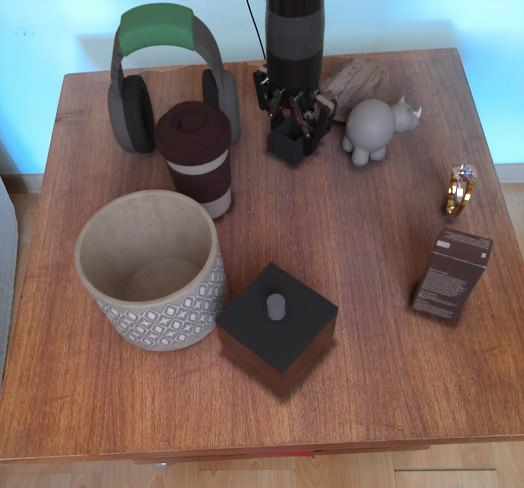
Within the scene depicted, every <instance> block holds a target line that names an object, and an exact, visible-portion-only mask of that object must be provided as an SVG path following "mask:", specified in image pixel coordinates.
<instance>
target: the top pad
mask: <svg viewBox="0 0 524 488" xmlns="http://www.w3.org/2000/svg"><path fill="white" fill-rule="evenodd" d="M309 126H310V127H311V126H312V125H311V122H309ZM303 137H304V133H303V130H302V127H301V125H298V123H297V119H296V116H295V114H294V113H292V114H291V115H290V114H289V115H288V116H287V117H285V120H284V121H283V122H282V123H281V124H279V125H278V126H277V127H276V128H275V129H274V130H272V131H271V130H270V131H269V133H268V134H267V135H266V148H267V151H268V152H269V153H271V154H273V155H274V156H276V157H278V158H280V159H281V160H283V161H285V162H286V163H288V164H290V165H291V166H293V167H295V166H297V165H298V164H299V163H300V162H301V161H302V160H303V159H304V158H306V156H304V155H303ZM292 138H293V139H294V140H293V139H292ZM320 141H321V140H320ZM320 141H318V142H317V146H318V145H320Z"/></svg>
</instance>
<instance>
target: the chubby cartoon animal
mask: <svg viewBox="0 0 524 488" xmlns="http://www.w3.org/2000/svg"><path fill="white" fill-rule="evenodd" d="M405 98H406V95H405V94H402V95H401V96H400V98H399V99H398V101H397V102H395V103H394V104H392V106H390V105H388V104H387V102H385V101H383V100H382V99H381V100H380V99H378V98H377V99H368V100H364V101H362V102H360V103H359V104H357V105H356V106H355V107H354V108H353V109H352V111H351V112H350V114H349V116H348V118H347V122H346V123H345V135H344V136H343V139H342V142H341V148H342V149H343V151H345V152H348V153H351V162H352V164H353V165H354V166H357V167H363V166H366V165H367V164H368V162H369V159H370V160H372V161H374V162H379V161H382V160H383V159H384V158H385V157H386V152H387V145H388V144H389V142H390V141H391V139H392V138H393V136H394V134H402V133H405V132H411V131H413V130H415V128H416V127H417V126H418V125H419V123H420V122H419V118H420V117H421V115H422V112H423V111H422V110H423V109H422V106H420V107H419V108H418V109H417V111H416V110H415V111H414V108H413V107H411V105H410V104H409V103H407V102H406V101H405Z"/></svg>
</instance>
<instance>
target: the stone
mask: <svg viewBox="0 0 524 488" xmlns="http://www.w3.org/2000/svg"><path fill="white" fill-rule="evenodd" d="M387 75H388V73H387V72H386V71H385V70H383V69H382V68H381V67H380V66H379V64H378V62H377V61H375V60H373V61H370V60H369V59H368V58H366V57H359V56H354V57H350V58H348V59H347V60H345V61H343V62H340V63H339V64H337V65H335V66H334V67H332V68H331V69H330V71H329V72H328V73H327V74H326V75H324V76H323V78H321V79H320V80H319V87H320V90H321V96H323V97H324V98H326V99H327V100H328V101H330V100H331V99H332V98H334V99H336V100H337V102H338V106H337V109H336V112H335V116H334V119H333V121H337V122H342V123H345V124H346V122H347V118H348V116H349V114H350V112H351V111H352V109H353V108H354V107H355V106H356V105H357V104H359V103H360V102H362V101H364V100H368V99H378V93H377V91H378V89H379V87H380V85H381V83H382V82H383V80H384V79H385V78H386V77H387ZM317 108H318V107H317ZM308 111H309V109H308V110H307V111H306V112H305V113H304V115H305V114H306V113H307V112H308ZM292 113H293V112H292V111H290V113H289V115H291V114H292ZM317 117H319V116H317Z"/></svg>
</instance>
